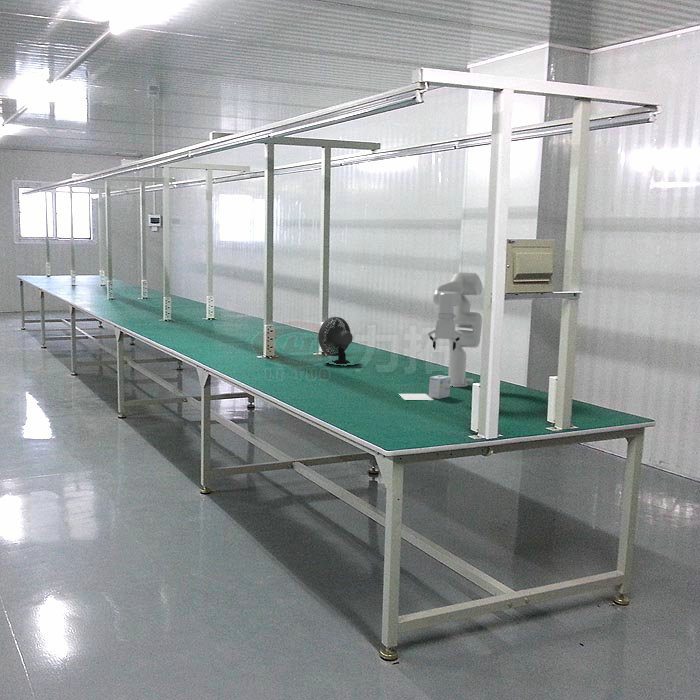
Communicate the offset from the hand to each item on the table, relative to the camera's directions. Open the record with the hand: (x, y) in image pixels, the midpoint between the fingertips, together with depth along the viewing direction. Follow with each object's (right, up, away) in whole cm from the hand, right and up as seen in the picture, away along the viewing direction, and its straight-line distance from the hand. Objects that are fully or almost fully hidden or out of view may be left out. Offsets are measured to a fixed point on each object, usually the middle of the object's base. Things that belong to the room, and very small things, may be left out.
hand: (444, 349), depth 394 cm
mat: (-15, -25, 0) cm, 29 cm away
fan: (-57, -9, +104) cm, 119 cm away
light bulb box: (-2, -25, +2) cm, 25 cm away
